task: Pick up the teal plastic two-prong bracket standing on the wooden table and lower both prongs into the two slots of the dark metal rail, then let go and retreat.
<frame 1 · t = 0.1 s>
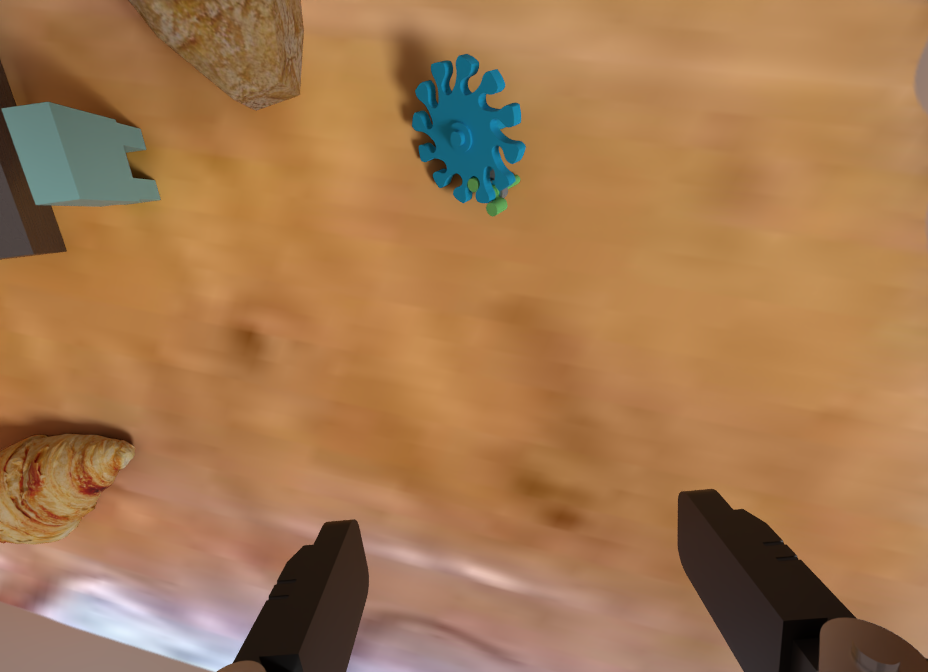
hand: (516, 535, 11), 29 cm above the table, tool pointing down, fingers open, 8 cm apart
croissant: (62, 476, 45), on the table
clip: (132, 167, 37), on the table
gear: (469, 150, 36), on the table
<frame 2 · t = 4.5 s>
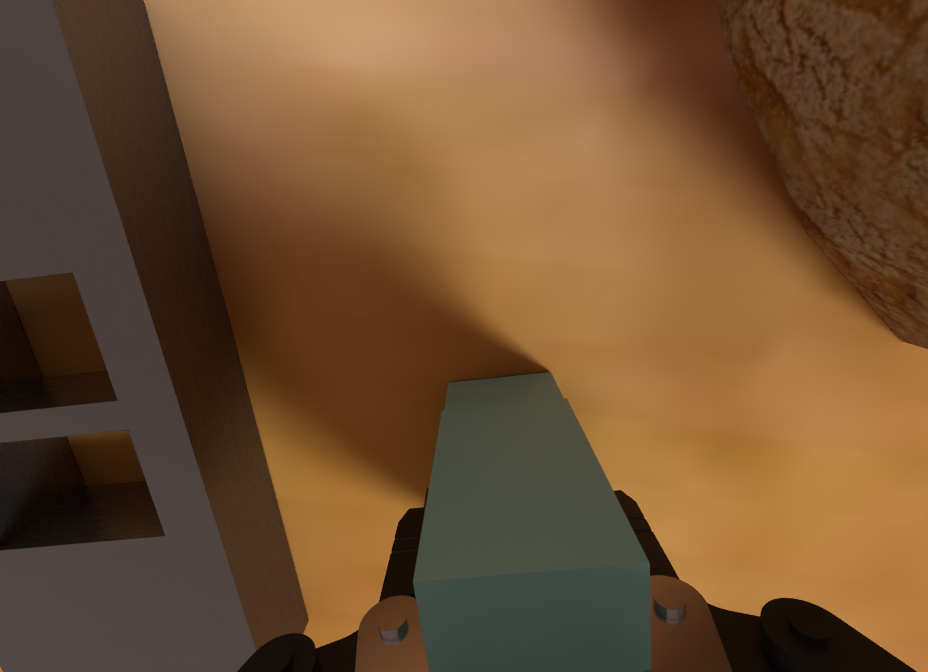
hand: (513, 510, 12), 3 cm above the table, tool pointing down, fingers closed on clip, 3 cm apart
rail: (120, 381, 14), on the table
clip: (507, 457, 14), on the table, touching gripper
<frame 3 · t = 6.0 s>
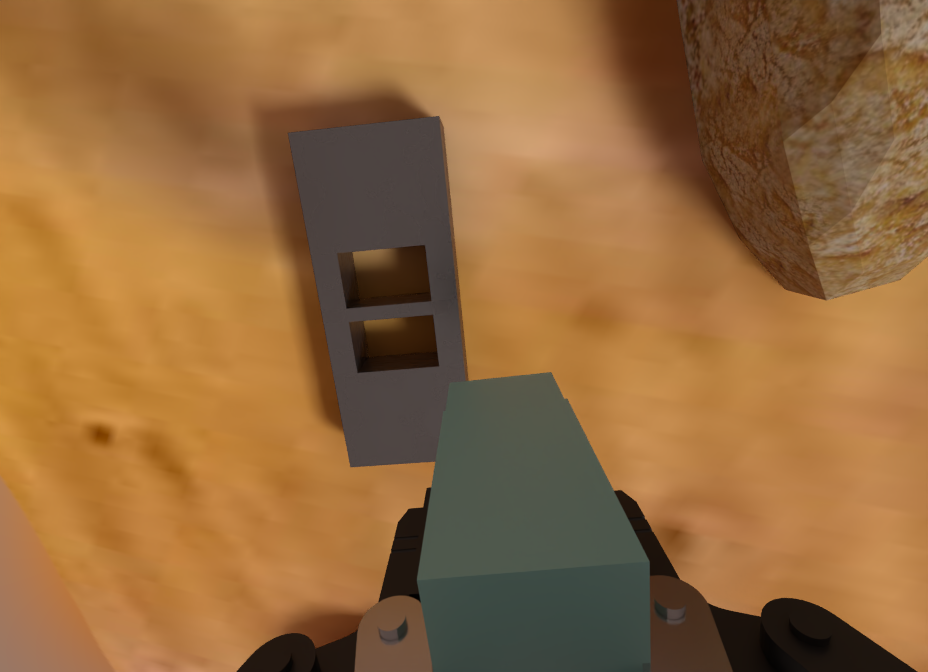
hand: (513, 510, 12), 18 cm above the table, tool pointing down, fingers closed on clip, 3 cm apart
rail: (398, 301, 28), on the table
clip: (508, 456, 15), point 15 cm above the table, touching gripper
when the fingers open (4 cm above the table, at t = 8.7 s): clip stays where it is, resting on rail.
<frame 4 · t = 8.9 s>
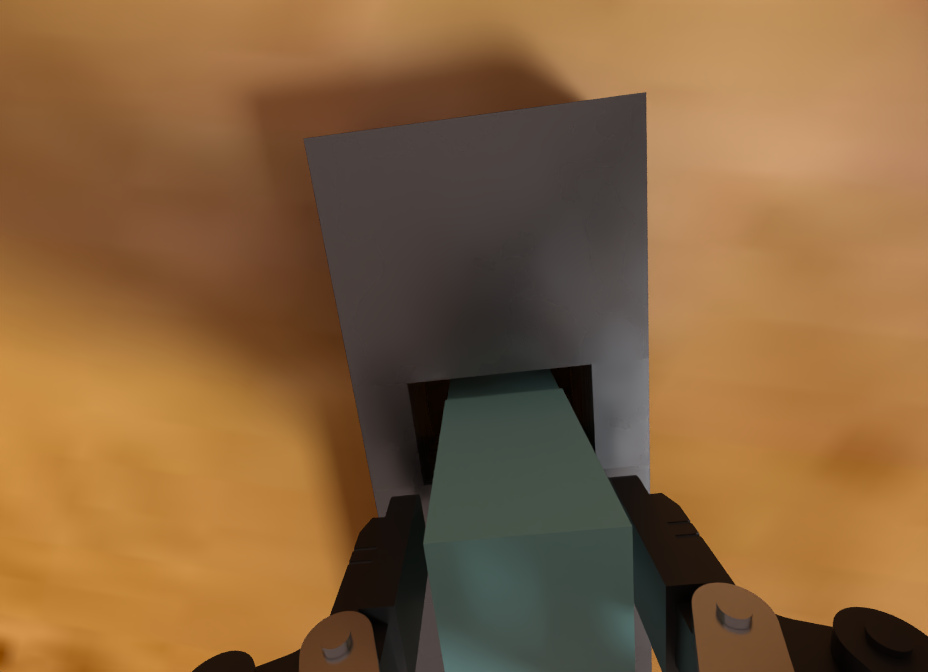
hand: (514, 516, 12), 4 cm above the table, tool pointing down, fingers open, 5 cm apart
rail: (503, 439, 16), on the table
clip: (506, 445, 15), resting on rail
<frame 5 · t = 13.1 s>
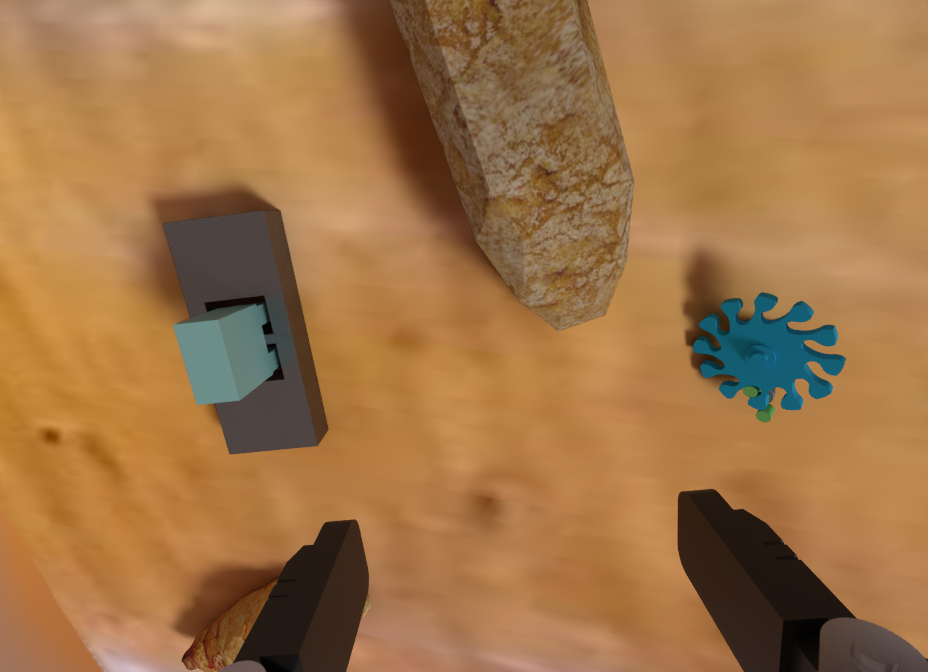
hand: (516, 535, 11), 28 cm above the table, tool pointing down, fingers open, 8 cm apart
croissant: (287, 612, 48), on the table
rail: (262, 332, 39), on the table
clip: (260, 333, 39), resting on rail
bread: (502, 102, 34), on the table
gear: (734, 345, 39), on the table
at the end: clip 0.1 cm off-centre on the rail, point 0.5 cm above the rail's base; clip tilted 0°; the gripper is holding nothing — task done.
